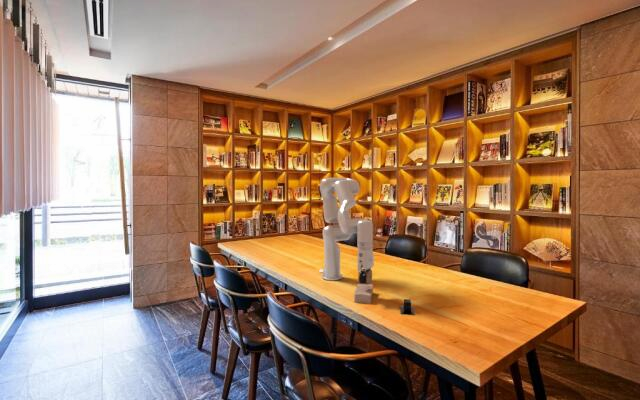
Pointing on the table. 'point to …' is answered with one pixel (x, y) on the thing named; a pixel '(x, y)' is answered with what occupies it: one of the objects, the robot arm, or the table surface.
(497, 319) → the table surface
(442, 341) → the table surface
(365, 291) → the brick
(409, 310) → the black piece
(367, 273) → the brown wooden block
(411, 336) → the table surface
